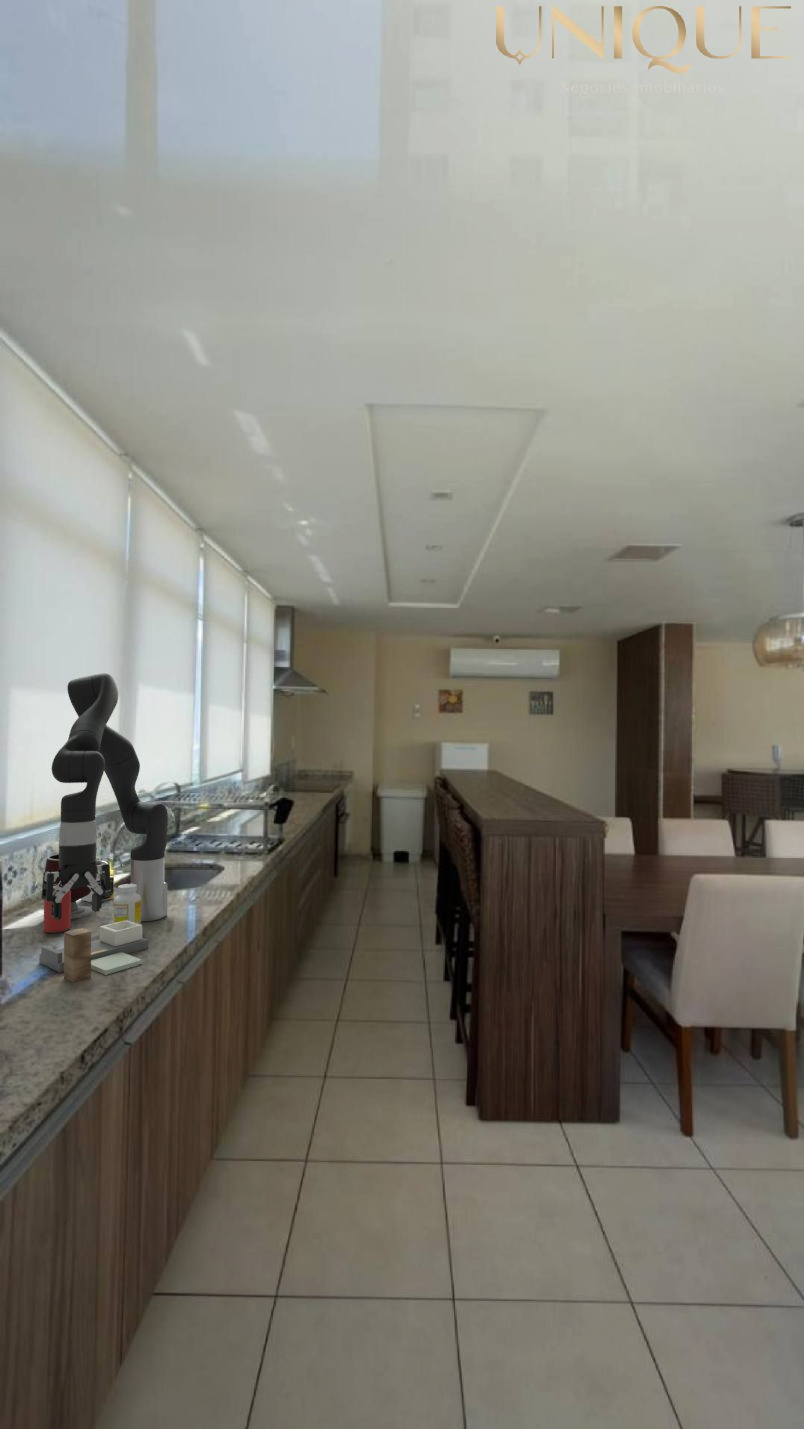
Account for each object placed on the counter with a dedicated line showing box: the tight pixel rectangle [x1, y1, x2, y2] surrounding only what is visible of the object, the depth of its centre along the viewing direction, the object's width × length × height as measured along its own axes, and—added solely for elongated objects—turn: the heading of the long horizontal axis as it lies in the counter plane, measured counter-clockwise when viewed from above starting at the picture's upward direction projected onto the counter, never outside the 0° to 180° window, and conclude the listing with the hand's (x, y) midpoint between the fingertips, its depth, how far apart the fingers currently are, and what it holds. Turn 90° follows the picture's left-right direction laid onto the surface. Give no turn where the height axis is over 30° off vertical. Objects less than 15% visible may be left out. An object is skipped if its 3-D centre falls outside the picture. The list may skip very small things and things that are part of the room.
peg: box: [63, 927, 92, 983], centre depth 153 cm, size 4×4×10 cm
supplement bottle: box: [113, 883, 142, 925], centre depth 185 cm, size 7×7×13 cm
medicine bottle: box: [80, 860, 115, 903], centre depth 222 cm, size 7×7×12 cm
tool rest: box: [91, 952, 143, 976], centre depth 161 cm, size 9×9×1 cm
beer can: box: [43, 884, 72, 934], centre depth 188 cm, size 7×7×12 cm
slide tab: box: [99, 920, 143, 946], centre depth 173 cm, size 7×7×4 cm
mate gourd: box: [44, 853, 97, 920], centre depth 206 cm, size 16×14×20 cm
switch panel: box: [38, 937, 150, 973], centre depth 168 cm, size 22×10×4 cm, turn 142°
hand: (76, 915), depth 153 cm, fingers open, 8 cm apart
